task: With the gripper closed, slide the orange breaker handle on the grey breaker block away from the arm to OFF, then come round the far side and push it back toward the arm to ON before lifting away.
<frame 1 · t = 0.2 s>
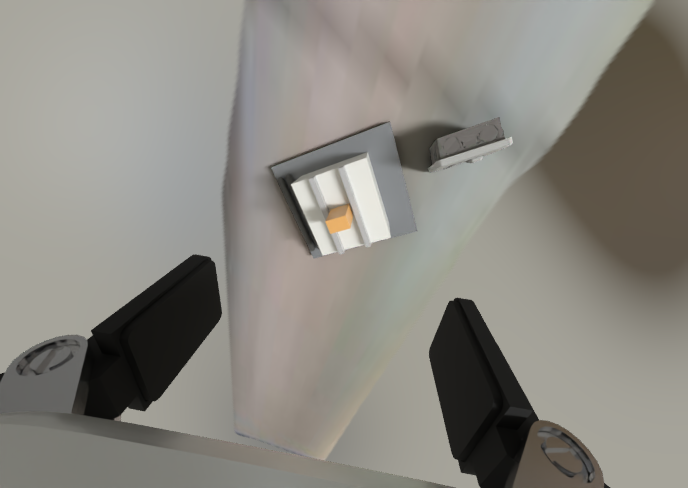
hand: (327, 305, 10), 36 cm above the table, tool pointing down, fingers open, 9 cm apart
breaker block: (347, 197, 45), on the table
breaker handle: (340, 218, 36), point 10 cm above the table, slide at 0.0 cm
electrical switch: (452, 147, 40), on the table
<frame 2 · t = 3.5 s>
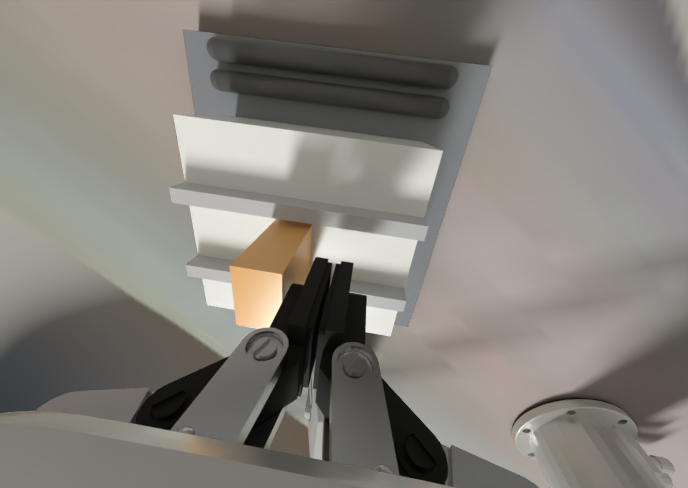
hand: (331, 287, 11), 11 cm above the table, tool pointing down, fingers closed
breaker block: (323, 205, 21), on the table
breaker handle: (279, 268, 12), point 10 cm above the table, slide at 0.3 cm, touching gripper
electrical switch: (332, 357, 30), on the table
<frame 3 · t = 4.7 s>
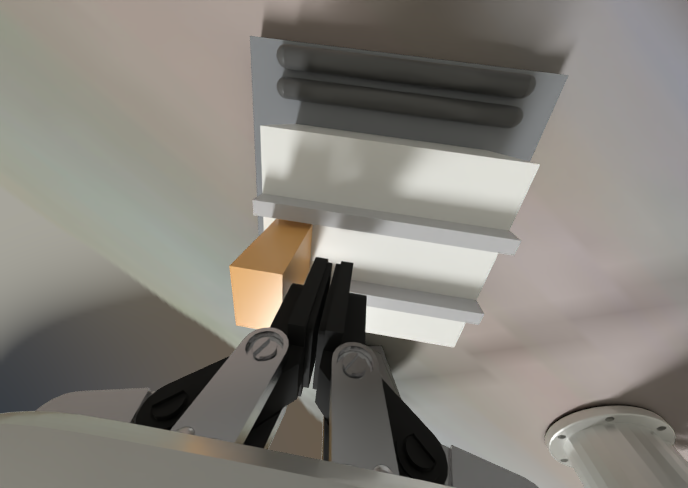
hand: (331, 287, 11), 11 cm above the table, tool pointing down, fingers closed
breaker block: (374, 212, 21), on the table
breaker handle: (279, 268, 12), point 10 cm above the table, slide at 4.6 cm, touching gripper
electrical switch: (366, 363, 30), on the table
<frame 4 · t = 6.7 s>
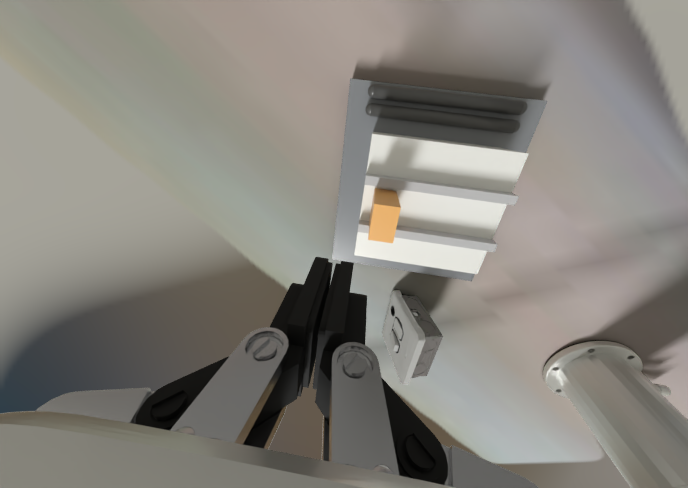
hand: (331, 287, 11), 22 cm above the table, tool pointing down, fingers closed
breaker block: (418, 191, 30), on the table
breaker handle: (383, 213, 21), point 10 cm above the table, slide at 4.5 cm
electrical switch: (404, 311, 39), on the table
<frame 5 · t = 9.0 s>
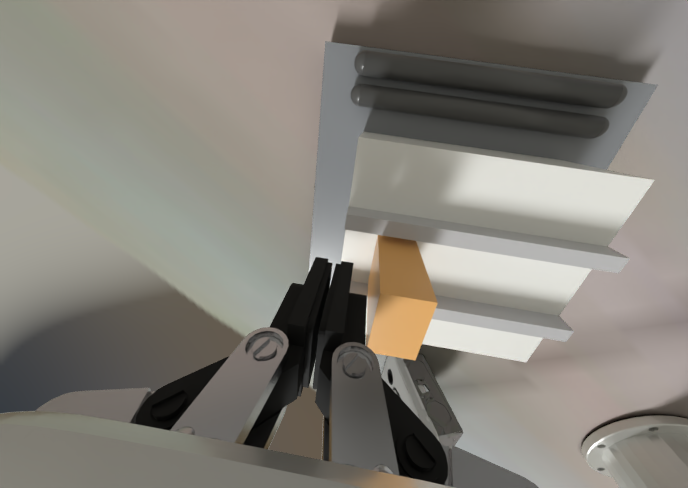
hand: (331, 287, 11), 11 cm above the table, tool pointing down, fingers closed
breaker block: (430, 221, 20), on the table
breaker handle: (394, 288, 11), point 10 cm above the table, slide at 3.8 cm, touching gripper
electrical switch: (405, 371, 29), on the table
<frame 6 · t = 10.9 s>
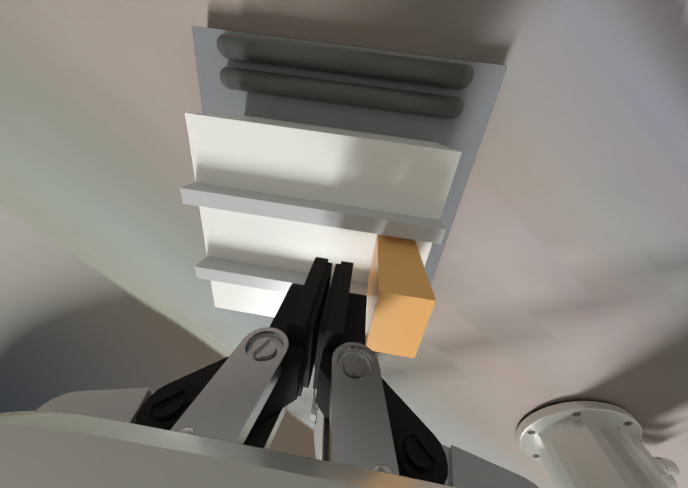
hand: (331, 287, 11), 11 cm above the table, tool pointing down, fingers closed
breaker block: (331, 205, 21), on the table
breaker handle: (393, 287, 12), point 10 cm above the table, slide at -4.5 cm, touching gripper
electrical switch: (336, 358, 30), on the table
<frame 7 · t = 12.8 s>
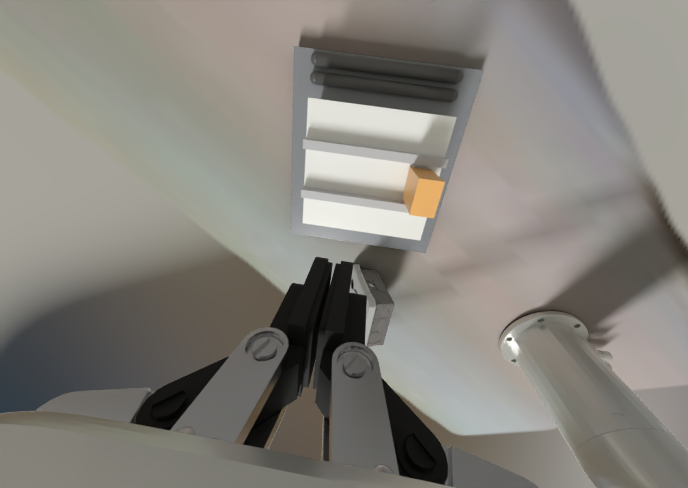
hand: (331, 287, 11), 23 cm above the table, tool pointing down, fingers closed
breaker block: (370, 163, 31), on the table
breaker handle: (420, 190, 22), point 10 cm above the table, slide at -4.5 cm
electrical switch: (365, 286, 40), on the table
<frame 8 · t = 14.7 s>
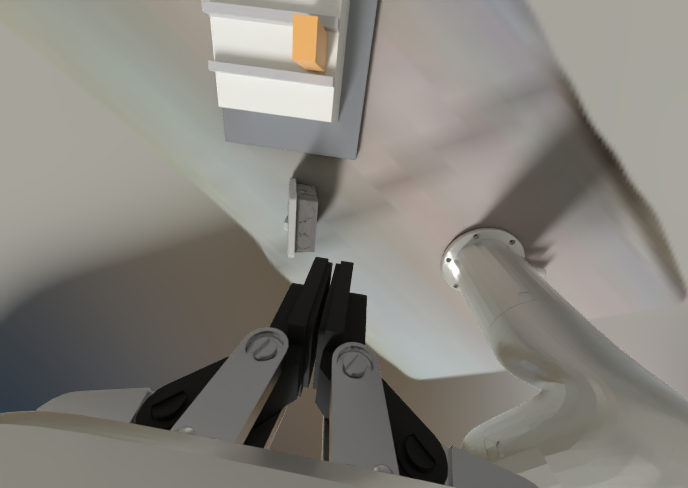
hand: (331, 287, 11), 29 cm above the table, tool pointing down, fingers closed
breaker block: (294, 63, 32), on the table
breaker handle: (311, 46, 22), point 10 cm above the table, slide at -4.5 cm
electrical switch: (306, 205, 41), on the table
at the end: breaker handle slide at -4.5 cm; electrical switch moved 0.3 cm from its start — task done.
